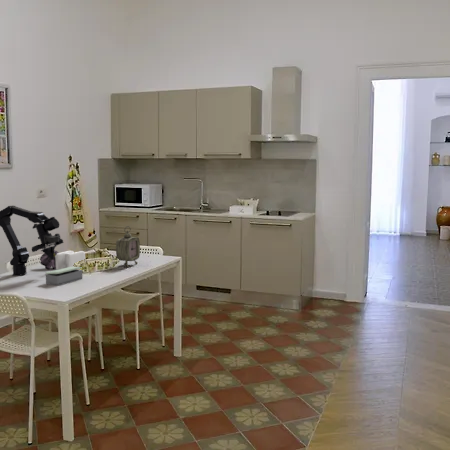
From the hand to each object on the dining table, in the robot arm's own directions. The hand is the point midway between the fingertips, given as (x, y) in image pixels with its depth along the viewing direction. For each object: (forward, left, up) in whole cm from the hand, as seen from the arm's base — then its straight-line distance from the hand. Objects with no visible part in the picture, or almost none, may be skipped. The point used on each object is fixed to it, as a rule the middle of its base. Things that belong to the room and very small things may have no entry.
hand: (52, 259), depth 305 cm
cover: (+9, -11, -4) cm, 15 cm away
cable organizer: (+7, +16, -11) cm, 21 cm away
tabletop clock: (+40, +29, -10) cm, 50 cm away
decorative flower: (-6, +27, -11) cm, 30 cm away
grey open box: (+8, -11, -10) cm, 18 cm away
